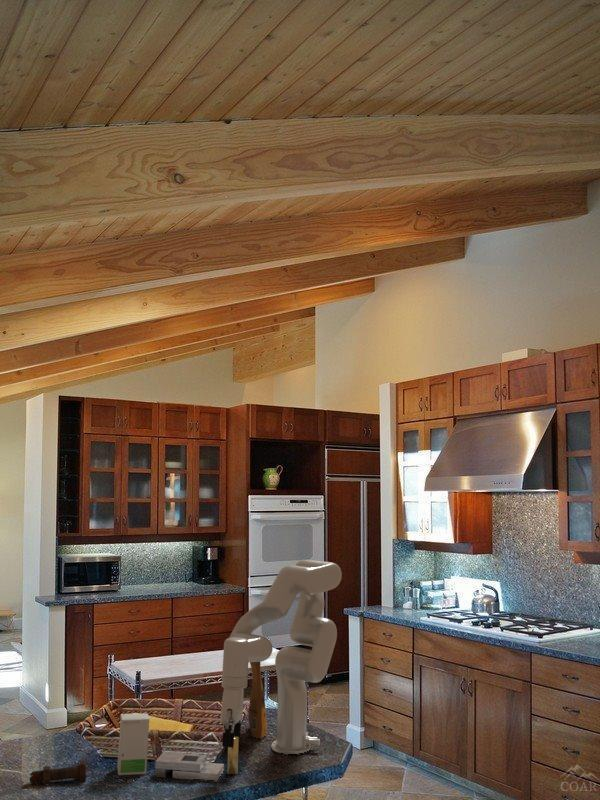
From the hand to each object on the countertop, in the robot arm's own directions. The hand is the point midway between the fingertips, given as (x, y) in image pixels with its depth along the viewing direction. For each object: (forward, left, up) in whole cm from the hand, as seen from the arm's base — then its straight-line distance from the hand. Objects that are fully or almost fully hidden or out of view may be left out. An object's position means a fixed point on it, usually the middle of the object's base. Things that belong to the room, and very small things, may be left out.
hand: (231, 741), depth 236 cm
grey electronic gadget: (+12, +2, -9) cm, 15 cm away
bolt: (+46, +15, -10) cm, 50 cm away
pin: (0, -1, -9) cm, 9 cm away
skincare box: (+29, +3, -9) cm, 30 cm away
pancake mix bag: (0, -39, -9) cm, 40 cm away
